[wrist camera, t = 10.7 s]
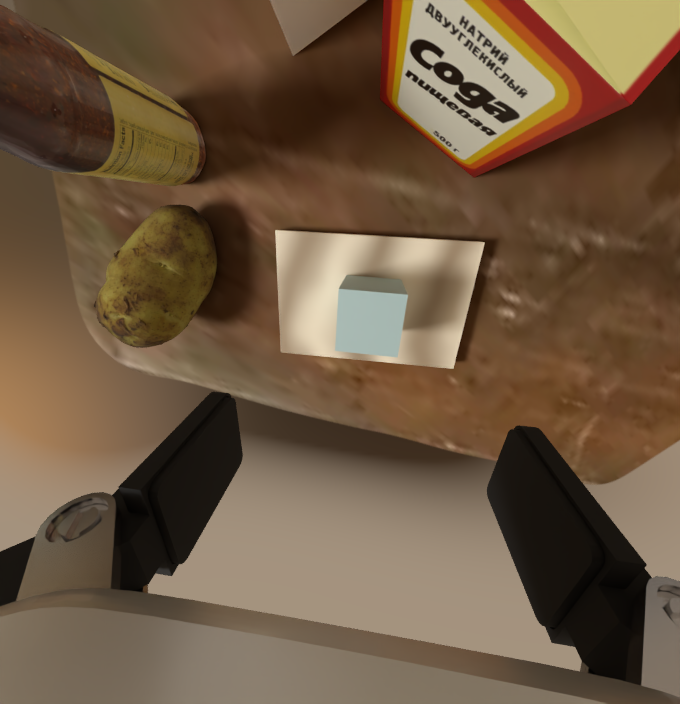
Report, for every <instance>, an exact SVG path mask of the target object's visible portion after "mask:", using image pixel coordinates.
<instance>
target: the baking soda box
mask: <svg viewBox="0 0 680 704" xmlns="http://www.w3.org/2000/svg"><path fill="white" fill-rule="evenodd" d="M679 50H680V0H384V8H383V36H382V63H381V91H380V100H381V101H382V102H383V103H385V104H386V105H387V106H388V107H389V108H391V109H392V110H393V111H394V112H395V113H397V114H398V115H399V116H400V117H401V118H403V119H404V120H405V121H406V122H407V123H409V124H410V125H411V126H412V127H414V128H415V129H416V130H417V131H418V132H420V133H421V134H422V135H423V136H424V137H426V138H427V139H428V140H429V141H430V142H432V143H433V144H434V145H435V146H436V147H438V148H439V149H440V150H441V151H442V152H444V153H445V154H446V155H447V156H448V157H450V158H451V159H452V160H453V161H454V162H456V163H457V164H458V165H459V166H461V167H462V168H463V169H464V170H465V171H467V172H468V173H469V174H470V175H471V176H473V177H476V176H478V175H480V174H483V173H485V172H487V171H489V170H491V169H493V168H496V167H498V166H500V165H502V164H504V163H506V162H508V161H511V160H513V159H515V158H517V157H519V156H521V155H524V154H526V153H528V152H530V151H532V150H534V149H537V148H539V147H541V146H543V145H545V144H547V143H549V142H552V141H554V140H556V139H558V138H560V137H562V136H565V135H567V134H569V133H571V132H573V131H575V130H578V129H580V128H582V127H584V126H586V125H588V124H590V123H593V122H595V121H597V120H599V119H601V118H603V117H606V116H608V115H610V114H612V113H614V112H616V111H619V110H621V109H623V108H625V107H627V106H629V105H631V104H632V103H633V102H634V101H635V99H636V98H637V97H638V96H639V95H640V94H641V93H642V92H643V90H644V89H645V88H646V87H647V86H648V85H649V84H650V83H651V81H652V80H653V79H654V78H655V77H656V76H657V75H658V74H659V72H660V71H661V70H662V69H663V68H664V67H665V66H666V65H667V63H668V62H669V61H670V60H671V59H672V58H673V57H674V56H675V54H676V53H677V52H678V51H679Z"/></svg>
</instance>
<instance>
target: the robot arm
mask: <svg viewBox="0 0 680 704" xmlns="http://www.w3.org/2000/svg"><path fill="white" fill-rule="evenodd" d="M242 456H243V455H242V446H241V439H240V432H239V424H238V417H237V409H236V402H235V399H234V398H231V395H230V394H229V393H221V392H211V393H210V394H209V395H208V396H207V397H206V398H205V399H204V400H203V401H202V402H201V403H200V404H199V405H198V406H197V407H196V408H195V409H194V411H192V412H191V413H190V414H189V415H188V417H186V418H185V420H184V421H183V422H182V423H181V424H180V425H179V426H178V427H177V428H176V429H175V430H174V431H173V432H172V433H171V434H170V435H169V436H168V437H167V438H166V439H165V440H164V441H163V442H162V443H161V444H160V445H159V446H158V447H157V448H156V449H155V450H154V451H153V452H152V453H151V454H150V455H149V456H148V457H147V458H146V459H145V460H144V461H143V463H141V464H140V465H139V466H138V467H137V469H136V470H135V471H134V472H133V473H132V474H131V475H130V476H129V477H128V478H127V479H126V480H125V481H124V482H123V483H122V484H121V485H120V486H119V489H118V490H117V491H116V492H115V493H114V494H113V495H110V494H108V493H104V492H99V493H91V494H87V495H84V496H81V497H78V498H76V499H74V500H72V501H70V502H68V503H66V504H65V505H63V506H61V507H60V508H58V509H57V510H56V511H55V512H54V513H52V514H51V515H50V516H49V517H48V518H47V519H46V520H45V521H44V523H43V524H42V525H41V526H40V528H39V530H38V532H37V534H36V536H35V537H33V538H31V539H29V540H26V541H24V542H22V543H19V544H17V545H15V546H12V547H10V548H8V549H6V550H3V551H1V552H0V704H680V581H677V580H674V579H671V578H668V577H658V576H656V577H654V578H652V577H651V576H650V575H649V574H648V572H647V571H646V570H645V566H646V563H645V562H644V561H643V559H642V558H641V557H640V556H639V554H638V553H637V552H636V551H635V549H634V548H633V547H632V546H631V544H630V543H629V542H628V540H627V539H626V538H625V537H624V536H623V534H622V533H621V532H620V530H619V529H618V528H617V526H616V525H615V524H614V523H613V522H612V520H611V519H610V518H609V516H608V515H607V514H606V512H605V511H604V510H603V509H602V507H601V506H600V505H599V504H598V503H597V501H596V500H595V498H594V497H593V496H592V495H591V494H590V492H589V491H588V490H587V488H586V487H585V486H584V485H583V483H582V482H581V481H580V479H579V478H578V477H577V476H576V474H575V473H574V472H573V471H572V469H571V468H570V467H569V465H568V464H567V463H566V462H565V460H564V459H563V458H562V457H561V455H560V454H559V453H558V451H557V450H556V449H555V448H554V446H553V445H552V444H551V443H550V441H549V440H548V439H547V437H546V436H545V435H544V434H543V432H542V431H541V430H540V429H539V428H536V427H527V426H516V427H515V428H514V430H513V429H512V430H510V431H509V432H508V435H507V437H506V440H505V442H504V445H503V448H502V450H501V453H500V455H499V458H498V460H497V463H496V466H495V469H494V471H493V474H492V476H491V479H490V481H489V484H488V487H487V495H488V499H489V501H490V504H491V506H492V509H493V511H494V513H495V516H496V519H497V521H498V524H499V526H500V529H501V531H502V534H503V536H504V539H505V541H506V544H507V546H508V549H509V551H510V554H511V556H512V559H513V561H514V564H515V566H516V569H517V571H518V573H519V576H520V579H521V581H522V583H523V586H524V589H525V591H526V594H527V596H528V599H529V601H530V604H531V606H532V609H533V611H534V613H535V616H536V618H537V620H538V621H539V623H540V624H541V625H542V626H545V627H546V630H547V632H548V635H549V637H550V639H551V642H552V643H556V644H562V645H568V646H573V647H576V649H577V652H578V654H579V656H580V658H581V660H582V663H581V668H580V672H579V671H573V670H569V669H564V668H559V667H555V666H550V665H545V664H541V663H535V662H530V661H525V660H519V659H514V658H509V657H503V656H498V655H493V654H487V653H481V652H477V651H471V650H466V649H461V648H455V647H450V646H445V645H439V644H434V643H429V642H424V641H417V640H413V639H407V638H402V637H396V636H391V635H385V634H379V633H374V632H369V631H363V630H358V629H352V628H347V627H341V626H336V625H330V624H324V623H319V622H314V621H308V620H302V619H297V618H291V617H285V616H280V615H275V614H268V613H262V612H257V611H251V610H246V609H240V608H234V607H229V606H223V605H218V604H212V603H206V602H200V601H195V600H189V599H182V598H175V597H169V596H162V595H156V594H149V593H148V584H149V582H150V581H151V579H152V578H153V576H154V574H155V573H157V574H163V575H168V576H172V575H173V573H174V572H175V570H176V568H177V566H178V565H179V564H182V563H184V562H185V561H186V559H187V558H188V556H189V555H190V553H191V551H192V549H193V548H194V546H195V544H196V542H197V540H198V539H199V537H200V535H201V533H202V532H203V530H204V528H205V526H206V524H207V523H208V521H209V519H210V517H211V516H212V514H213V512H214V510H215V509H216V507H217V505H218V503H219V502H220V500H221V498H222V496H223V495H224V493H225V491H226V489H227V487H228V486H229V484H230V482H231V480H232V478H233V477H234V475H235V473H236V472H237V469H238V468H239V466H240V464H241V461H242Z"/></svg>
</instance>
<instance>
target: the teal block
mask: <svg viewBox="0 0 680 704" xmlns="http://www.w3.org/2000/svg"><path fill="white" fill-rule="evenodd" d="M407 298H408V294H407V291H406V289H405V287H404V285H403V282H402V280H401V279H389V278H377V277H365V276H353V275H346V277H345V278H344V280H343V282H342V284H341V286H340V287H339V292H338V309H337V326H336V343H335V351H341V352H351V353H360V354H370V355H379V356H389V357H398V352H399V346H400V340H401V334H402V328H403V322H404V316H405V310H406V304H407Z"/></svg>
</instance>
